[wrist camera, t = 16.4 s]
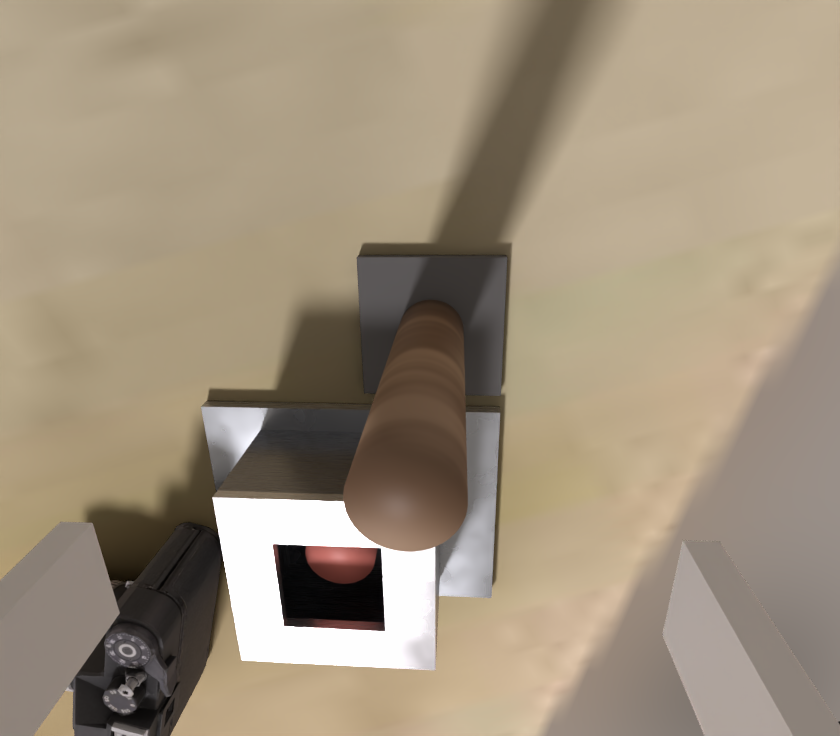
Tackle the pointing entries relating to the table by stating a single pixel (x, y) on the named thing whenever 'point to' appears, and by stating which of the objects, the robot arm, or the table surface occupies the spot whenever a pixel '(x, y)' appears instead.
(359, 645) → the box
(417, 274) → the rubber mat
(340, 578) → the breaker button
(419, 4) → the table surface
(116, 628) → the camera
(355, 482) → the walnut dowel
